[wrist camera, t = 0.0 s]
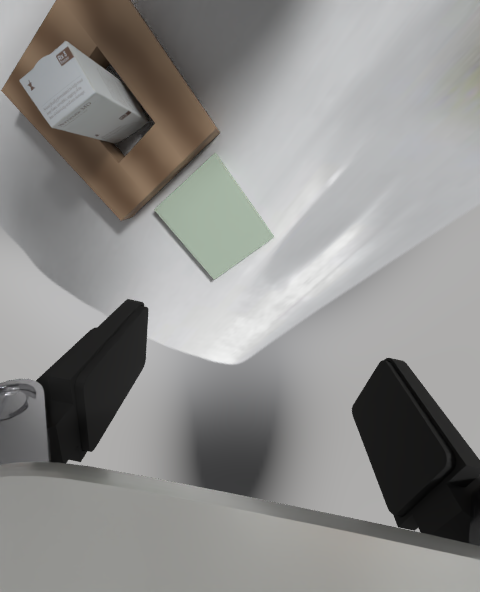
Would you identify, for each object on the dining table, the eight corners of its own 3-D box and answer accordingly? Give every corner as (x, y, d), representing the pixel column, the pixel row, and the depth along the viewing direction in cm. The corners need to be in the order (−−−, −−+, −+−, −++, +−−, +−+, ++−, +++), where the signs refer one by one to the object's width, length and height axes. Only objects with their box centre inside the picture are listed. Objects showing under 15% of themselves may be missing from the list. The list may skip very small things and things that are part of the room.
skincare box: (116, 145, 35) (50, 133, 24) (95, 110, 33) (14, 80, 22) (151, 121, 33) (98, 96, 22) (131, 83, 32) (62, 36, 21)
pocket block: (110, -30, 27) (90, -57, 24) (220, 132, 33) (215, 128, 30) (25, 98, 33) (1, 90, 30) (132, 216, 39) (121, 220, 36)
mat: (215, 153, 34) (214, 153, 33) (273, 235, 39) (274, 237, 38) (156, 208, 38) (154, 209, 37) (215, 277, 43) (214, 279, 42)
